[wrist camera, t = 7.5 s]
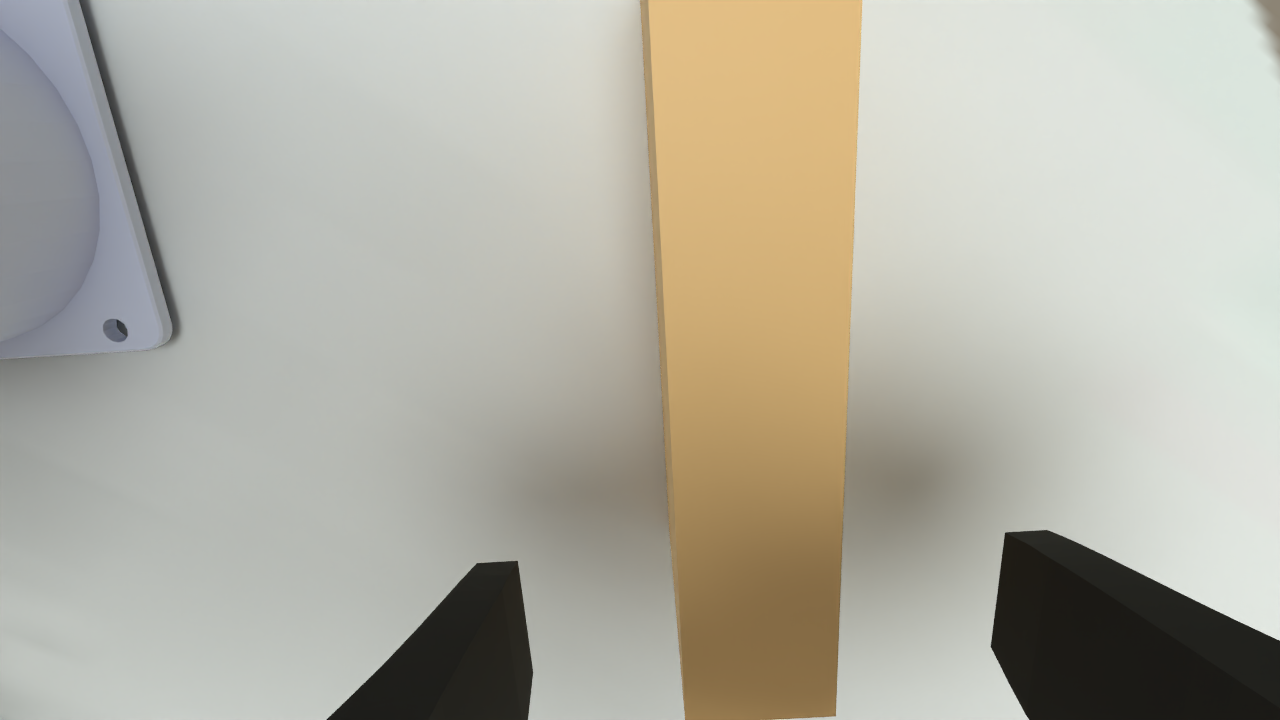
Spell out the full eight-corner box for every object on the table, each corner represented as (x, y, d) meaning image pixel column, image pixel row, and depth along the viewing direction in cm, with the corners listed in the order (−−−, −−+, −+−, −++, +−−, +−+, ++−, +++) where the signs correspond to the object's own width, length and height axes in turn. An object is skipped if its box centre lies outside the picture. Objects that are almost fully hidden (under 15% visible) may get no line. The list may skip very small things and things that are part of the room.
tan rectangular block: (669, 527, 17) (686, 724, 11) (640, -3, 13) (641, -118, 7) (767, 521, 17) (835, 715, 11) (766, -11, 13) (867, -134, 7)
